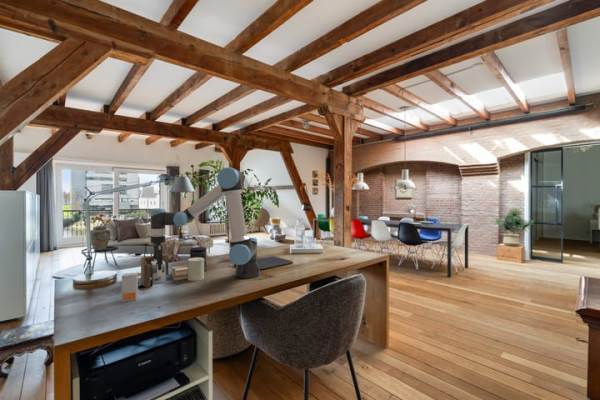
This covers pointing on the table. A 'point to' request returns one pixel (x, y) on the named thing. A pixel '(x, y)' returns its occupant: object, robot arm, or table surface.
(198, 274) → the can
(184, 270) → the birch offcut
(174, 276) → the oak offcut
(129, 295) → the skincare box
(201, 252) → the storage jar
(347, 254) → the table surface
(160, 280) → the light bulb box
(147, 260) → the walnut rack
